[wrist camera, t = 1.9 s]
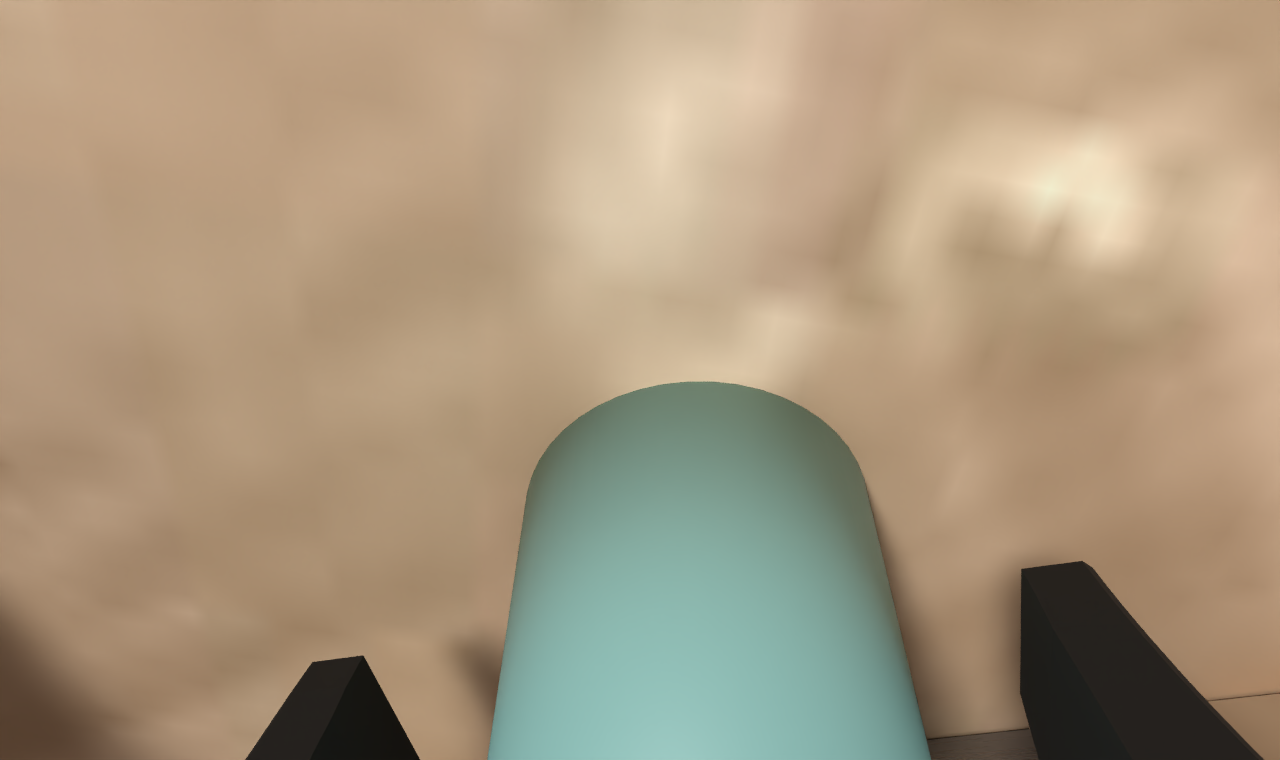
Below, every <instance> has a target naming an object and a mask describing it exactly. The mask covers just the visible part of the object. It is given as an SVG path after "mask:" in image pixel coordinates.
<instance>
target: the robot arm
mask: <svg viewBox="0 0 1280 760" xmlns="http://www.w3.org/2000/svg"><path fill="white" fill-rule="evenodd" d="M1020 694H1021V698H1022V701H1023V705H1024V709H1025V712H1026V716H1027V719H1028V723H1029V727H1030V730H1031V734H1032V738H1033V741H1034V745H1035V748H1036V752H1037V755H1038V759H1039V760H1264V759H1263V758H1262V757H1261V756H1260V755H1259V754H1258V753H1257V752H1256V751H1255V750H1254V749H1253V748H1252V747H1251V746H1250V745H1249V744H1248V743H1247V742H1246V741H1245V740H1244V739H1243V738H1242V737H1241V736H1240V734H1239V733H1238V732H1237V731H1236V730H1235V729H1234V728H1233V727H1232V726H1231V725H1230V724H1229V723H1228V722H1227V721H1226V720H1225V719H1224V718H1223V717H1222V716H1221V715H1220V714H1219V713H1218V712H1217V711H1216V710H1215V709H1214V707H1213V706H1212V705H1211V704H1210V703H1209V702H1208V701H1207V700H1206V699H1205V698H1204V697H1203V696H1202V695H1201V694H1200V693H1199V692H1198V691H1197V690H1196V689H1195V687H1194V686H1193V685H1192V684H1191V683H1190V682H1189V681H1188V680H1187V679H1186V678H1185V677H1184V676H1183V674H1182V673H1181V672H1180V671H1179V670H1178V669H1177V668H1176V667H1175V666H1174V664H1173V663H1172V662H1171V661H1170V660H1169V659H1168V658H1167V656H1166V655H1165V654H1164V653H1163V652H1162V651H1161V650H1160V649H1159V647H1158V646H1157V645H1156V644H1155V643H1154V642H1153V641H1152V640H1151V638H1150V637H1149V636H1148V635H1147V634H1146V633H1145V631H1144V630H1143V629H1142V628H1141V627H1140V626H1139V624H1138V623H1137V622H1136V621H1135V620H1134V619H1133V617H1132V616H1131V615H1130V614H1129V613H1128V611H1127V610H1126V609H1125V608H1124V607H1123V605H1122V604H1121V603H1120V602H1119V600H1118V599H1117V598H1116V597H1115V595H1114V594H1113V593H1112V592H1111V590H1110V589H1109V588H1108V587H1107V586H1106V584H1105V583H1104V582H1103V580H1102V579H1101V578H1100V577H1099V575H1098V574H1097V573H1096V571H1095V570H1094V569H1093V568H1092V567H1091V566H1089V565H1088V564H1086V563H1085V562H1083V561H1079V562H1071V563H1064V564H1056V565H1049V566H1041V567H1033V568H1026V569H1021V665H1020ZM246 760H420V759H419V757H418V755H417V753H416V751H415V750H414V748H413V746H412V744H411V742H410V740H409V739H408V737H407V735H406V733H405V731H404V729H403V728H402V726H401V724H400V722H399V720H398V718H397V716H396V715H395V713H394V711H393V709H392V707H391V705H390V704H389V702H388V700H387V698H386V696H385V694H384V693H383V691H382V689H381V687H380V685H379V683H378V682H377V680H376V678H375V676H374V674H373V672H372V671H371V669H370V667H369V665H368V663H367V661H366V659H365V658H364V656H356V657H348V658H340V659H333V660H325V661H318V662H312V664H311V665H310V666H309V668H308V669H307V671H306V672H305V673H304V675H303V676H302V678H301V679H300V680H299V682H298V683H297V685H296V686H295V688H294V689H293V690H292V692H291V693H290V695H289V696H288V698H287V699H286V701H285V702H284V704H283V705H282V707H281V708H280V709H279V711H278V712H277V714H276V715H275V717H274V718H273V720H272V721H271V723H270V724H269V726H268V727H267V729H266V730H265V732H264V733H263V735H262V736H261V738H260V739H259V740H258V742H257V743H256V745H255V746H254V748H253V749H252V751H251V752H250V754H249V755H248V757H247V758H246Z"/></svg>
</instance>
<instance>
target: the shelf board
mask: <svg viewBox="0 0 1280 760" xmlns="http://www.w3.org/2000/svg"><path fill="white" fill-rule="evenodd" d="M1208 702H1209V703H1210V704H1211V705H1212V706H1213V707H1214V709H1215V710H1216V711H1217V712H1218V713H1219V714H1220V715H1221V716H1222V717H1223V718H1224V719H1225V720H1226V721H1227V722H1228V723H1229V724H1230V725H1231V726H1232V727H1233V728H1234V729H1235V730H1236V731H1237V732H1238V733H1239V734H1240V736H1241V737H1242V738H1243V739H1244V740H1245V741H1246V742H1247V743H1248V744H1249V745H1250V746H1251V747H1252V748H1253V749H1254V750H1255V751H1256V752H1257V753H1258V754H1259V755H1260V756H1261V757H1262V758H1263V759H1264V760H1280V694H1271V695H1262V696H1253V697H1244V698H1234V699H1225V700H1216V701H1208Z"/></svg>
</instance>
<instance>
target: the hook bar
mask: <svg viewBox="0 0 1280 760" xmlns="http://www.w3.org/2000/svg"><path fill="white" fill-rule="evenodd" d="M927 744H928V748H929V752H930V757H931V760H1039V759H1038V755H1037V752H1036V748H1035V745H1034V741H1033V738H1032V734H1031V730H1030V729H1025V730H1016V731H1006V732H997V733H988V734H979V735H970V736H960V737H951V738H942V739H933V740H927Z"/></svg>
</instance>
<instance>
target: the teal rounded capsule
mask: <svg viewBox="0 0 1280 760" xmlns="http://www.w3.org/2000/svg"><path fill="white" fill-rule="evenodd" d="M487 760H931V757H930V752H929V748H928V744H927V740H926V736H925V732H924V727H923V723H922V719H921V715H920V711H919V706H918V702H917V698H916V694H915V690H914V686H913V681H912V677H911V673H910V669H909V665H908V661H907V656H906V652H905V648H904V644H903V640H902V635H901V631H900V627H899V623H898V619H897V615H896V610H895V606H894V602H893V598H892V594H891V590H890V585H889V581H888V577H887V573H886V569H885V564H884V560H883V556H882V552H881V548H880V544H879V539H878V535H877V531H876V527H875V523H874V519H873V514H872V510H871V506H870V502H869V498H868V493H867V489H866V485H865V481H864V477H863V475H862V472H861V470H860V467H859V465H858V462H857V461H856V459H855V457H854V456H853V454H852V452H851V451H850V449H849V447H848V446H847V445H846V444H845V442H844V441H843V440H842V439H841V438H840V436H839V435H838V434H837V433H836V432H835V431H834V430H833V429H832V428H831V427H829V426H828V425H827V424H826V423H825V422H824V421H823V420H821V419H820V418H819V417H817V416H816V415H814V414H813V413H811V412H810V411H808V410H806V409H805V408H803V407H802V406H800V405H797V404H795V403H793V402H791V401H789V400H787V399H785V398H783V397H780V396H778V395H775V394H772V393H769V392H766V391H763V390H760V389H755V388H751V387H746V386H742V385H737V384H729V383H720V382H680V383H671V384H663V385H658V386H653V387H648V388H644V389H639V390H636V391H633V392H630V393H627V394H624V395H621V396H618V397H616V398H614V399H612V400H610V401H607V402H605V403H603V404H601V405H599V406H597V407H595V408H594V409H592V410H590V411H589V412H587V413H586V414H584V415H582V416H581V417H579V418H578V419H577V420H575V421H574V422H573V423H572V424H570V425H569V426H568V427H567V428H566V429H564V430H563V431H562V432H561V433H560V434H559V435H558V436H557V438H556V439H555V440H554V441H553V442H552V443H551V444H550V445H549V447H548V448H547V450H546V451H545V453H544V454H543V455H542V457H541V458H540V460H539V462H538V464H537V466H536V468H535V470H534V473H533V475H532V477H531V481H530V484H529V488H528V492H527V497H526V504H525V511H524V517H523V524H522V531H521V537H520V544H519V551H518V558H517V564H516V571H515V578H514V585H513V591H512V598H511V605H510V611H509V618H508V625H507V632H506V638H505V645H504V652H503V659H502V665H501V672H500V679H499V685H498V692H497V699H496V706H495V712H494V719H493V726H492V733H491V739H490V746H489V753H488V759H487Z"/></svg>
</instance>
